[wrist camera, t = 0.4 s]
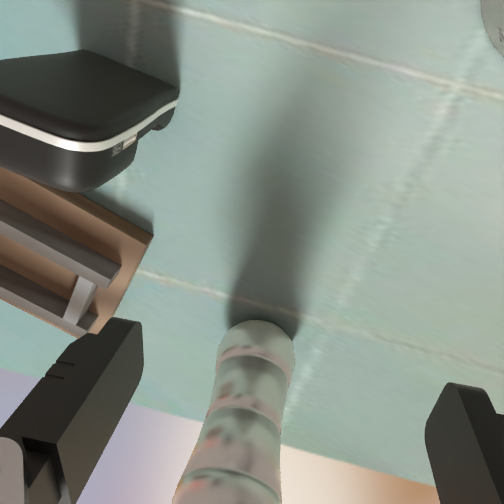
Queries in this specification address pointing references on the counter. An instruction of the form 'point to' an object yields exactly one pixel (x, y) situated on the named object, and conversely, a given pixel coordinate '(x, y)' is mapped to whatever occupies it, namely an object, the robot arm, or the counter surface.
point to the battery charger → (76, 117)
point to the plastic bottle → (242, 421)
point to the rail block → (64, 255)
